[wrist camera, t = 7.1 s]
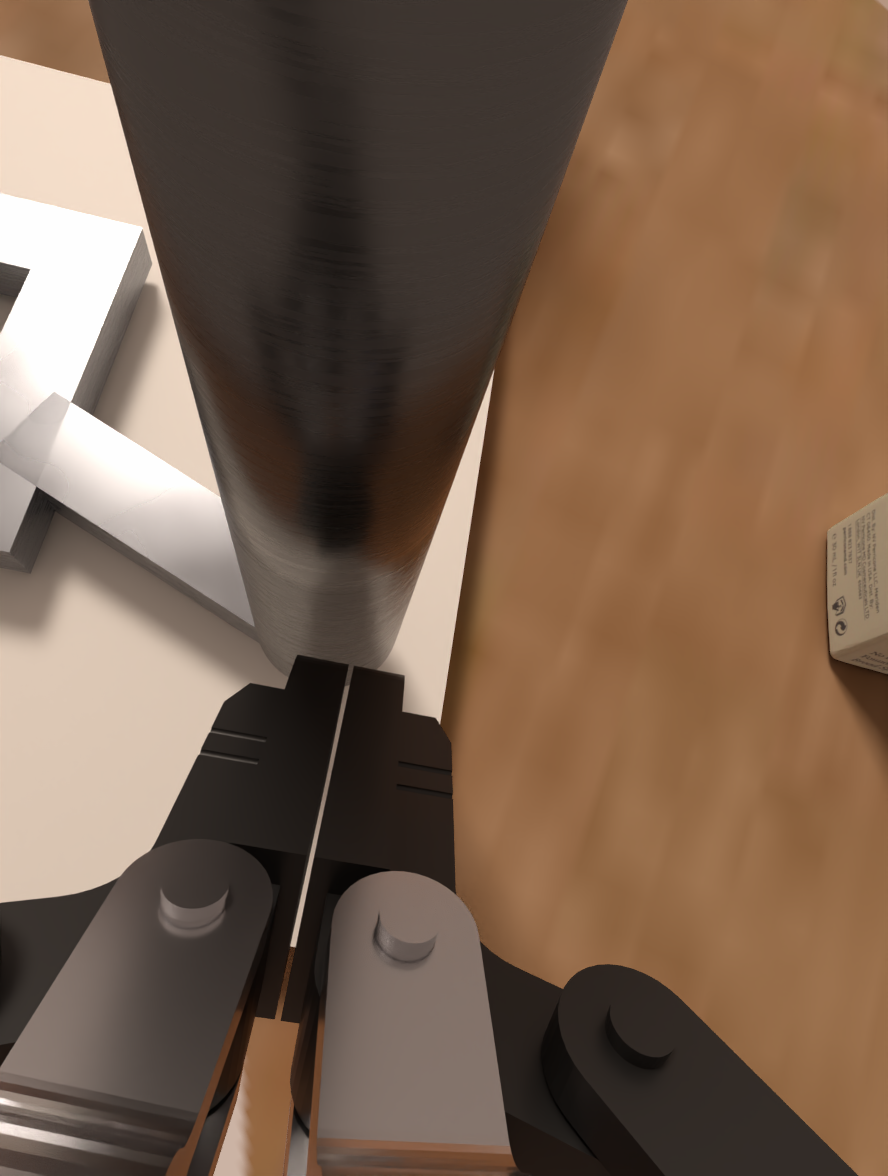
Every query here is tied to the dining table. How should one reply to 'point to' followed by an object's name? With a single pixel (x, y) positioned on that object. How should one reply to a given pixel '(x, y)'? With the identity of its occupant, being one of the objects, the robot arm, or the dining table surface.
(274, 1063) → the dining table surface
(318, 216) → the grey angle bracket
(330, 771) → the post base
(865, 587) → the skincare box
